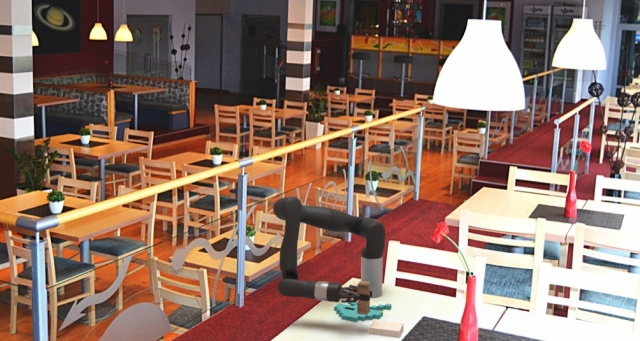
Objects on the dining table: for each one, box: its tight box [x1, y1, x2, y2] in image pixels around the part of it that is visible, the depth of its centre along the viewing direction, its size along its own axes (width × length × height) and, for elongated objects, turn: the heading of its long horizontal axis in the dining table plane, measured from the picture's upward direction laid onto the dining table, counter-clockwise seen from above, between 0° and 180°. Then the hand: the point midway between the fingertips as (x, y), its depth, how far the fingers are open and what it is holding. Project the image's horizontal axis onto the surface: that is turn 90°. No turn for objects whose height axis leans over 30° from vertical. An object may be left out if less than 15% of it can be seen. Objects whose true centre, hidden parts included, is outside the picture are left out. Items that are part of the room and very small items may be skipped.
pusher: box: [357, 280, 371, 315], centre depth 318 cm, size 4×4×12 cm
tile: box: [368, 319, 405, 338], centre depth 318 cm, size 8×3×12 cm
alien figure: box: [333, 302, 393, 323], centre depth 337 cm, size 20×2×20 cm
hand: (370, 296), depth 317 cm, fingers closed on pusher, 4 cm apart
